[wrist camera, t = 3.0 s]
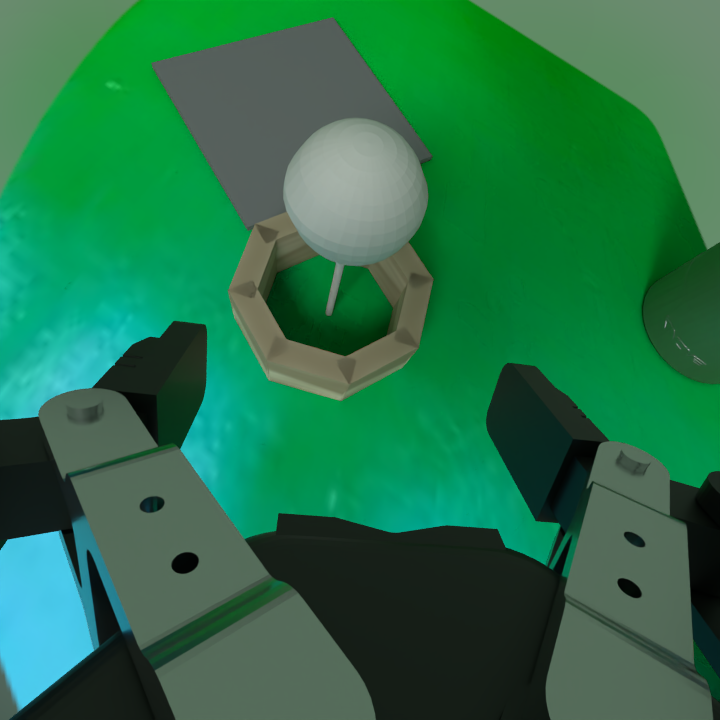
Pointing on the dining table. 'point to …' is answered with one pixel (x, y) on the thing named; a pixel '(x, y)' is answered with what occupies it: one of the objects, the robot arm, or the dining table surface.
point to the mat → (273, 106)
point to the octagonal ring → (312, 365)
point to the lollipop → (355, 194)
